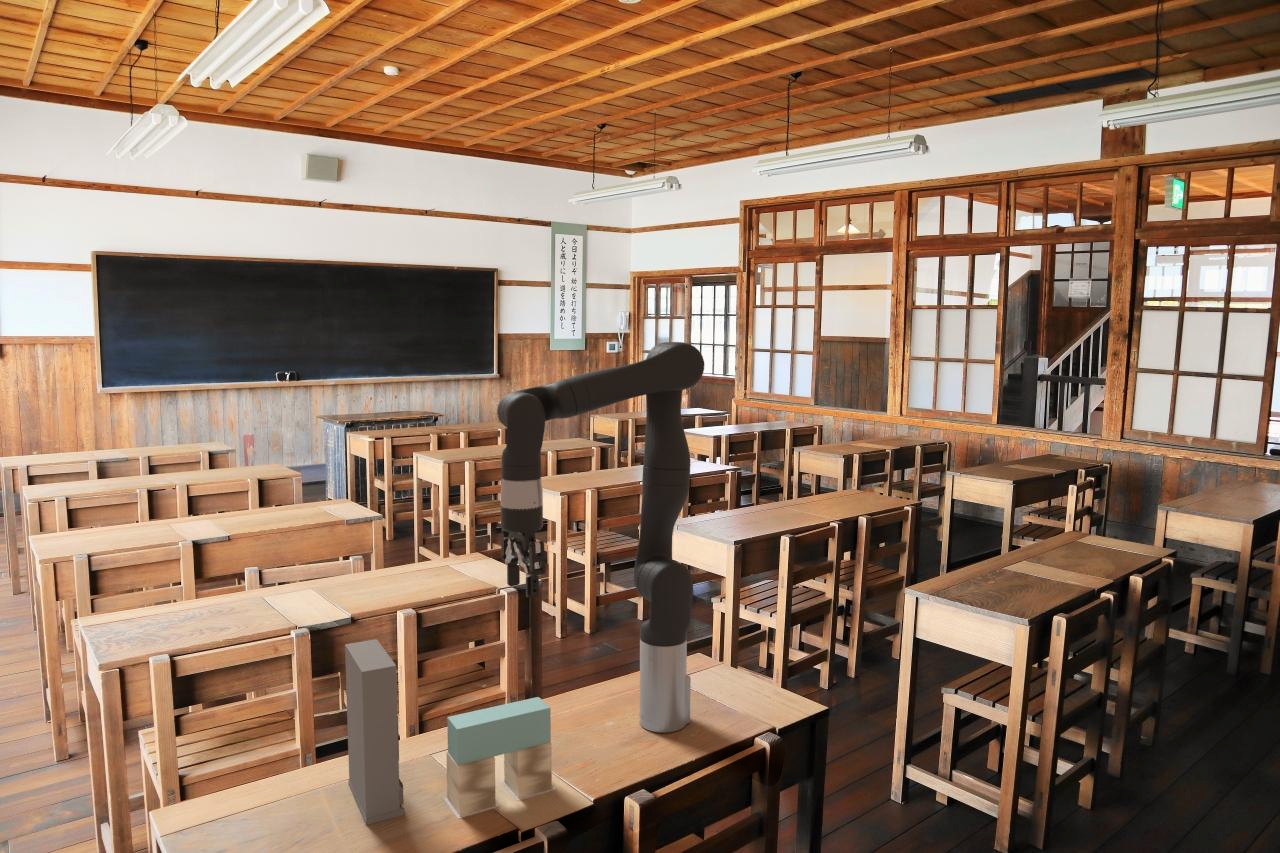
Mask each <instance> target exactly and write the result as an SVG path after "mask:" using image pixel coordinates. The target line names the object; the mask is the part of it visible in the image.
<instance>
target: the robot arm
mask: <svg viewBox="0 0 1280 853" xmlns="http://www.w3.org/2000/svg"><path fill="white" fill-rule="evenodd" d="M704 371H705V359H704V357H703V354H702V353H701V351H700V350H699V349H698V348H697V347H696V346H694V345H693V344H690V343H688V342H682V341H666V342H660V343H657V344H655V345H654V346H653V347H652V348H651V349H650V350H649V352H648V353H647V356H646V358H645V359H643V360H640V361H637V362H634V363H630V364H625V365H622V366H615V367H608V368H605V369H604V368H603V369H599V370H598V369H597V370H593V371H588V372H585V373H580V374H577V375H573V376H569V377H567V378H563V379H559V380H557V381H555V382H552V383H548V384H544V385H539V386H532V387H528V388H522V389H519V390H515V391H512V392H509V393H507V394H506V395H505V396H503V397H502V398H501V399H500V401H499V403H498V404H497V409H496V411H497V413H496V414H497V418H498V420H499V422H500V423H501V424H502V425H503V426H504V427H505V428H506V443H505V444H506V445H505V448H504V449H503V450H502V452H501V454H502V455H501V485H500V527H501V528H500V529H501V535H500V536H501V544H500V545H501V547H500V550H501V552H500V554H501V555H500V558H501V560H502V561H504V564H505V566H506V571H507V572H506V576H507V577H506V579H507V580H506V581H507V582H506V583H507V584H506V585H508V586H509V587H515V586H519V585H520V584H521V579H520V578H521V577H520V575H521V574H520V570H521V569H520V566H521V567H522V568H523V570H524V574H525V596H526V597H527V598H529V599H533V598H538V597H539V595H540V580H539V579H540V578H539V577H540V576H543V575H544V576H545V574H546V558H545V556H546V555H545V542H544V540H539V541H537V539H536V533H537V531H540V530H541V529H542V528H543V527H544V507H543V506H544V501H543V500H544V498H543V497H544V495H543V492H544V491H543V484H542V458H541V457H542V456H541V452H542V448H543V441H544V435H545V429H546V422H547V421H550V420H555V419H558V420H559V419H560V420H561V419H570V418H573V417H577V416H579V415H582V414H585V413H586V414H587V413H589V412H593V411H596V410H599V409H601V408H605V407H608V406H610V405H613V404H616V403H617V404H618V403H619V402H623V401H627V400H629V399H633V398H637V397H642V396H645V401H646V402H645V403H646V406H645V407H646V415H645V416H646V417H645V418H646V419H645V434H644V450H643V452H644V453H643V460H642V461H643V462H642V464H643V465H642V478H641V479H642V480H641V483H642V488H641V492H642V494H641V507H640V524H639V525H640V527H639V537H638V541H637V542H638V544H637V549H636V557H635V562H634V570H633V583H634V587H635V590H636V591H637V594H639V596H641V598H642V599H643V598H644V599H645V600H647V601H648V602H650V609H649V610H650V611H649V619H646V620H644V621H643V622H642V623H641V624H640V628H639V724H640V726H641V727H642V728H644V729H645V730H647V731H650V732H653V733H654V732H655V733H663V734H664V733H665V734H666V733H673V732H676V731H680V730H682V729H683V728H685V727H686V726H687V725H688V724H691V693H692V692H691V690H692V689H691V688H692V686H691V685H692V683H691V682H692V679H691V676H690V675H689V674H688V673H687V668H688V667H687V664H688V663H687V658H688V656H687V655H688V654H687V651H688V650H687V649H688V648H687V647H688V646H687V644H688V642H687V639H688V631H689V629H690V626H691V623H692V612H693V611H692V610H693V594H694V586H693V583H694V582H693V578H692V574H691V572H690V570H689V569H688V567H687V566H686V565H684V564H683V563H681V562H679V561H677V560H675V559H673V555H672V554H673V551H672V550H673V535H674V528H675V525H676V522H677V520H678V518H679V515H680V514H681V512H682V510H683V508H684V506H685V503H686V502H687V498H688V496H689V491H690V480H691V479H690V478H691V453H690V447H689V444H688V439H687V437H686V433H685V428H684V426H683V420H682V400H683V399H682V397H683V391H684V390H688V389H690V388H692V387H695V385H697V383H698V382H699V381H700V380H701V379H702V377H703V375H704Z"/></svg>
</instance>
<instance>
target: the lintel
mask: <svg viewBox="0 0 1280 853" xmlns="http://www.w3.org/2000/svg"><path fill="white" fill-rule="evenodd" d="M551 709H552V708H551V707H550V706H549V705H548V704H547V703H546V702H545V701H544V700H543V699H542V698H540V697H539V696H537V697H530V698H528V699H523V700H518V701H513V702H509V703H505V704H500V705H495V706H492V707H486V708H481V709H478V710H474V711H472V710H471V711H469V712H464V713H460V714H455V715H450V716H447V719H446V720H447V721H446V722H447V724H446V725H447V752H448V753H449V755H450V756H451V757H452V759H453V760H454V762H455V763H456V764H457V766H459V765H463V764H467V763H471V762H475V761H479V760H483V759H486V758H490V757H494V758H495V757H497V756H501V755H504V754H506V753H510V752H514V751H518V750H522V749H526V748H530V747H534V746H538V745H542V744H546V743H550V742H551V743H552V741H551V740H552V739H551V738H552V733H551V728H552V727H551V724H552V723H551V721H552V720H551V718H552V717H551V714H552V713H551V711H552V710H551Z"/></svg>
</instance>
